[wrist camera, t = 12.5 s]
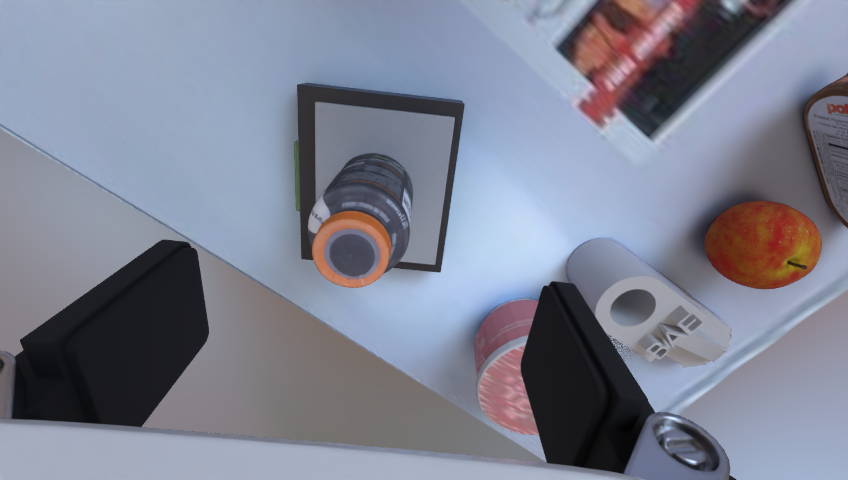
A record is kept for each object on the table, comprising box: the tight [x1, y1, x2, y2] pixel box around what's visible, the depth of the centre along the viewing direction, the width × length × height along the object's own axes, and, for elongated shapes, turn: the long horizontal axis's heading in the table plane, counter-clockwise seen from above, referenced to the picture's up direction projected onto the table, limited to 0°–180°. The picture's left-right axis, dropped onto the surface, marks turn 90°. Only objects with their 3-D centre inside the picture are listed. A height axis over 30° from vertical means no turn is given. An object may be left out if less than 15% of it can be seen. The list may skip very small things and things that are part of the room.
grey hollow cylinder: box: [566, 238, 732, 367], centre depth 34 cm, size 6×18×8 cm, turn 55°
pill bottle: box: [308, 153, 413, 288], centre depth 25 cm, size 6×6×11 cm
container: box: [474, 298, 539, 435], centre depth 36 cm, size 10×10×8 cm
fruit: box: [705, 201, 822, 289], centre depth 31 cm, size 7×7×8 cm
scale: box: [294, 83, 464, 272], centre depth 32 cm, size 14×12×3 cm
